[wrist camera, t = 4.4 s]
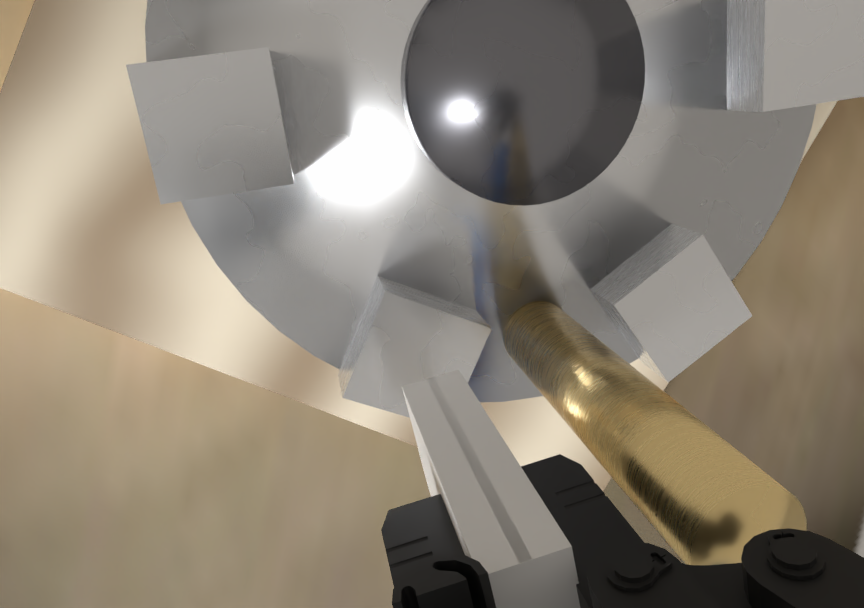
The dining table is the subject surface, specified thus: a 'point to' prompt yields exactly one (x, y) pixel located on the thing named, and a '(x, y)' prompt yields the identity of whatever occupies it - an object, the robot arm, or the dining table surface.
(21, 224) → the birch base board
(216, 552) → the dining table surface
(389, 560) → the robot arm
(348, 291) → the metal lathe chuck
